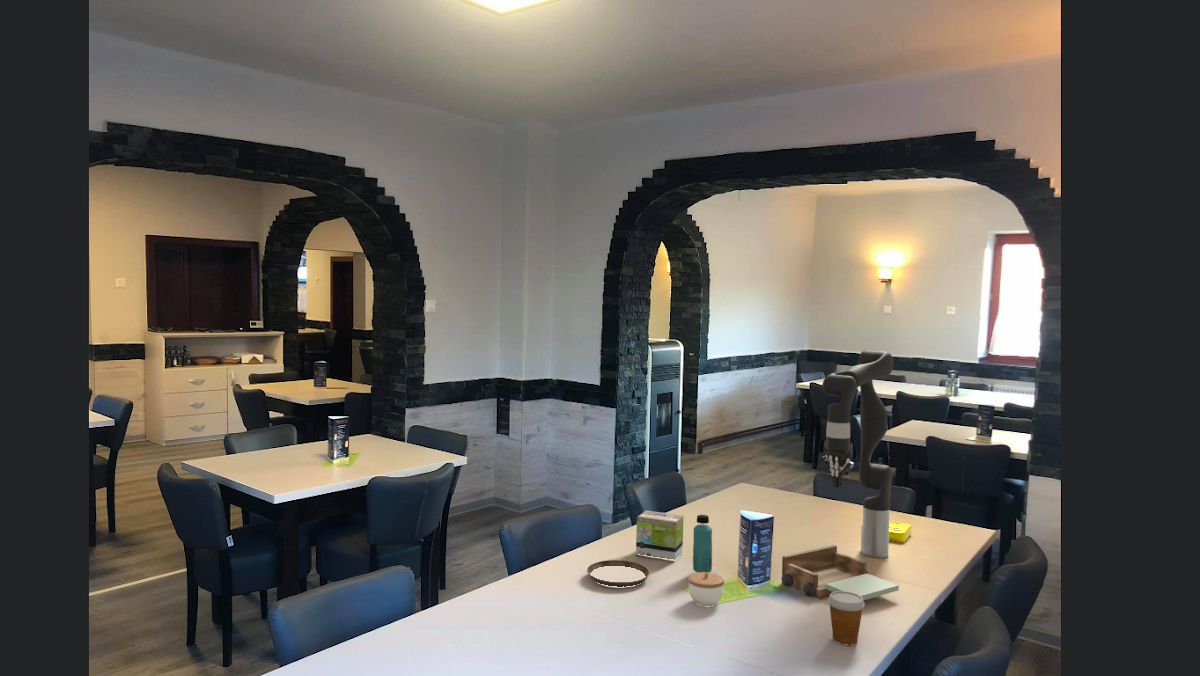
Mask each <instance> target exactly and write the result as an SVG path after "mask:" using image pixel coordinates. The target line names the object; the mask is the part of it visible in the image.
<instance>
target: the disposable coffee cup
mask: <svg viewBox="0 0 1200 676" xmlns="http://www.w3.org/2000/svg"><path fill="white" fill-rule="evenodd" d="M827 601H828V604H829V611H830V623H831V631H832V632H831V633H832V640H833V639H834V640H835V641H836V642H835V641H834V640H833V641H834V642H835V643H837V642H839V643H841V644H840V645H842V644H848V645H847V646H855V645H856V644H858V640H859V634H860V625H861V620H862V615H863V609H864V607H865V601H864V600H863V598H862V597H861V596H860V595H858V594H855V593H852V592H846V591H836V592H832V593H831V594H830V596H829V597H827ZM839 643H838V644H839ZM852 644H853V645H852ZM854 644H855V645H854Z"/></svg>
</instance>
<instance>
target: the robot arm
mask: <svg viewBox="0 0 1200 676" xmlns="http://www.w3.org/2000/svg"><path fill="white" fill-rule="evenodd" d="M893 368H894V357H893V356H892V354H891V353H889V352H887V351H881V350H868V349H867V350H862V351H861V352H860V354H859V356H858V364H856V365H852V366H850V367H848V368H847V369H845V370H842V371H838V372H832V373H829V374H828V375H826V376H825V378H824V379H823V381H822V389H823V392H824V393H825V394H826V395H828V396H831V397H832V396H833V397H839V398H841V400H840V401H839V402H834V403H831V404H829V405H828V406H827V424H826V432H825V433H826V435H825V436H826V439H825V440H826V442H825V448H826V449H827V451H826V453H825V455H823V456H821V457H820V460H821V462H822V464H823V466H824V468H825V470H826V472H827V473H828V474H830V475H831V476H832V478H831V480H832V483H831V484H832V487H833V488H835V489H840V488H842V485H843V477H845V476H848V474H850V472H852V470H853V468H854V467H855V466H856V463H855V462H854V461H851V459H850V455H849V452H850V449H851V423H850V422H851V409H852V404H853V402H854V397H855V395H856V392H857V389H858V388H859V389H860V415H859V417H860V418H859V419H860V420H859V421H860V423H859V424H860V459H859V460H860V461H859V476H858V477H859V484H860V486H861V487H862V488H864V489H870V490H877V491H879V493H878V494H877V495H874V496H868V497H865V498H864V499H863V501H862V525H861V532H860V533H861V535H860V536H861V538H860V551H861V553H862V555H864V556H867V557H870V558H875V559H876V558H879V559H880V558H881V559H882V558H887V557H889V545H890V543H889V542H890V541H889V521H890V515H891V514H890V510H891V509H890V508H891V493H892V491H891V490H892V489H891V488H892V481H893V471H892V468H891V467H890V466H889V465H886V464H878V463H871V461H872V456H873V453H874V451H875V449H876V448H877V446H878V445H879V444H880V442H881V441H882V440H883V438H884V436H885V435H886V433H887V431H888V411H887V408H886V407H885V404H884V403H883V401H882V400H881V398H880V397H879V395H878V393H877V392H876V389H875V388H874V382H873V381H874V380H877V379H880V378H885V377H888V376H889V375H891V374H892V372H893V370H894V369H893Z"/></svg>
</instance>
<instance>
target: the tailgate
mask: <svg viewBox="0 0 1200 676" xmlns="http://www.w3.org/2000/svg"><path fill="white" fill-rule="evenodd" d="M826 589H827V590H829V591H832V592H836V591H846V592H852V593H855V594H858V595H860V596H861V597H862V598H863V601H866V600H869V599H873V598H877V597H880V596H884V595H887V594H891V593H895V592H897V591H899V589H900V585H898V584H896V583H893V582H891V581H888V580H886V579H883V578H880V577H878V576H876V575H875V576H874V575H872V574H870V573H869V574H863V575H859V576H855V577H851V578H847V579H843V580H839V581H835V582H831V583H828V584H826Z"/></svg>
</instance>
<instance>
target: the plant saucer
mask: <svg viewBox="0 0 1200 676" xmlns="http://www.w3.org/2000/svg"><path fill="white" fill-rule="evenodd" d="M604 566H625V567H631V568H635V569H637V570H640V571H642V572H643V573H644V574H645V576H646V577H645V578H643V579H641V580H638V581H633V582H609V581H604V580H600V579H597V578H595V577H593V576H591V575H590V573H591V572H592V571H593V570H594V569H597V568H599V567H604ZM586 572H587V574H588V576H589V578H591V580H592V579H593V580H594V581H596V582H598V583H600V584H604V585H608V586H617V587H623V586H624V587H626V586H633V585H637V584H640V583H641V584H643V583H644V582H646V580H647V579H648V577H649V576H650V570H649V568H648V567H646V566H644V565H643V564H641V563H637V562H635V561H629V560H624V559H622V560H620V559H612V560H611V559H609V560H601V561H597V562H594V563H591V564H590V565H589V566H588V567H587V569H586ZM593 580H592V581H593ZM594 581H593V582H594ZM596 582H595V583H596ZM642 582H643V583H642ZM641 584H640V585H641Z"/></svg>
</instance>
